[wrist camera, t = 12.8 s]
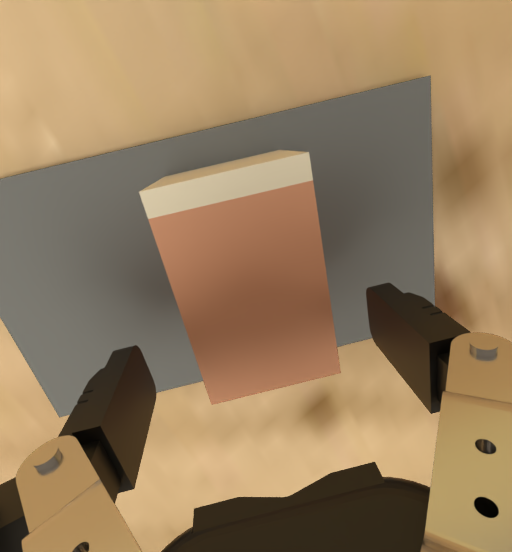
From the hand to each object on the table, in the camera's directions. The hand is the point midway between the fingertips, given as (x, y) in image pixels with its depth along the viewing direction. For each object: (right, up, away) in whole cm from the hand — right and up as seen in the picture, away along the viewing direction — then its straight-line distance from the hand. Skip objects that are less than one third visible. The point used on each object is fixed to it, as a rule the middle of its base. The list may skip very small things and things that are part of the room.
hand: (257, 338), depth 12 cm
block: (0, -1, +3) cm, 4 cm away
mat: (-2, +3, +5) cm, 6 cm away
